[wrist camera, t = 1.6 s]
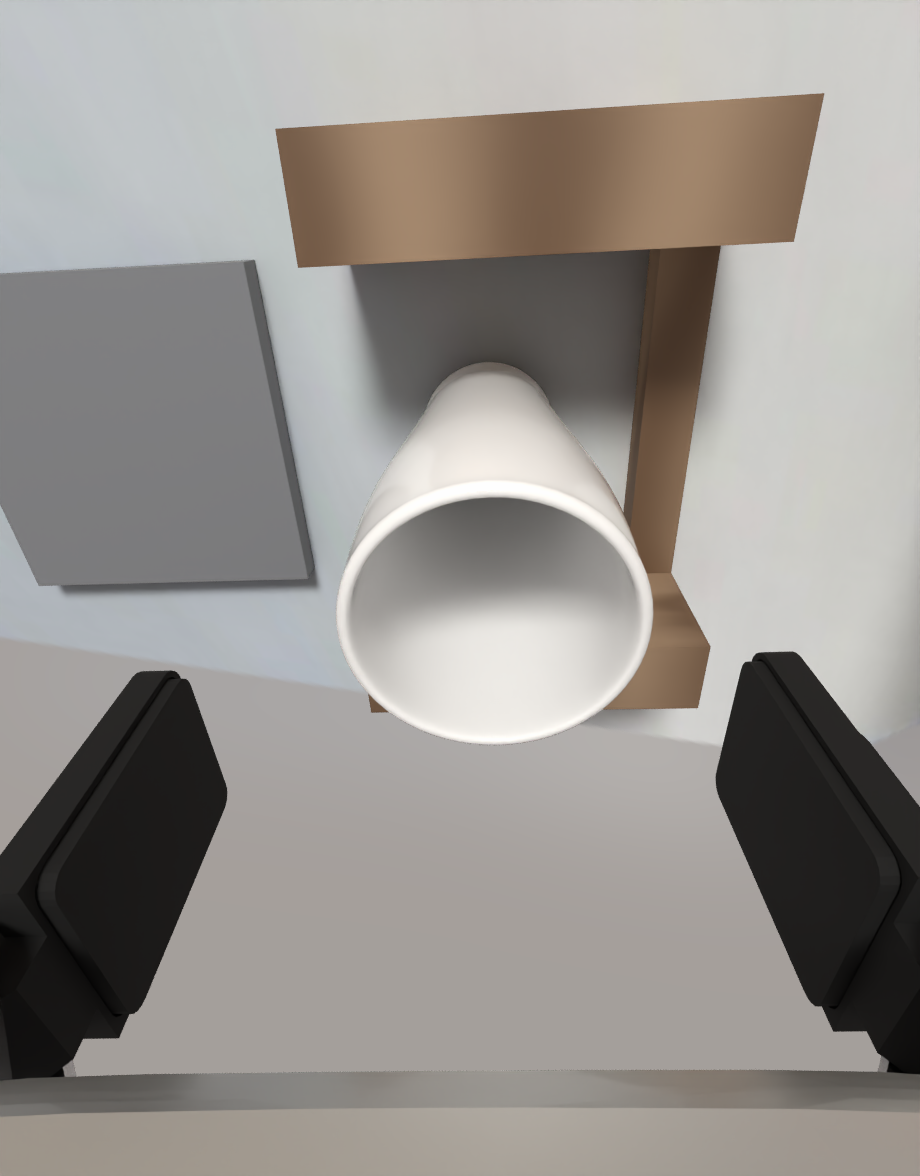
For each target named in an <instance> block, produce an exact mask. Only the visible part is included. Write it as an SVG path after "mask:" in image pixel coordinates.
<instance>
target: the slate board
mask: <svg viewBox="0 0 920 1176" xmlns="http://www.w3.org/2000/svg"><path fill="white" fill-rule="evenodd" d="M0 505H1V507H2V509H3V511H4V513H5V515H6V517H7V520H8V522H9V524H10V526H11V528H12V530H13V532H14V534H15V536H16V539H17V541H18V543H19V545H20V547H21V549H22V551H23V553H24V555H25V558H26V560H27V562H28V564H29V566H30V568H31V570H32V572H33V574H34V577H35V579H36V581H37V583H38V585H39V586H53V585H93V584H132V583H172V582H211V581H251V580H290V579H309V576H310V574H311V572H312V570H313V568H314V562H313V557H312V552H311V547H310V542H309V537H308V531H307V526H306V521H305V516H304V511H303V506H302V501H301V496H300V491H299V486H298V481H297V475H296V470H295V465H294V460H293V455H292V450H291V445H290V440H289V435H288V430H287V425H286V420H285V414H284V409H283V404H282V399H281V394H280V389H279V384H278V379H277V374H276V369H275V364H274V358H273V353H272V348H271V343H270V338H269V333H268V328H267V323H266V318H265V313H264V308H263V303H262V297H261V292H260V287H259V282H258V277H257V272H256V267H255V262H254V260H246V261H227V262H209V263H190V264H171V265H152V266H134V267H115V268H96V269H78V270H59V271H40V272H22V273H3V274H0Z"/></svg>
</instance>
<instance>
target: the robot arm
mask: <svg viewBox="0 0 920 1176" xmlns="http://www.w3.org/2000/svg"><path fill="white" fill-rule="evenodd" d="M716 788H717V792H718V795H719V798H720V800H721V803H722V805H723V807H724V809H725V812H726V814H727V816H728V818H729V821H730V823H731V825H732V828H733V830H734V832H735V834H736V837H737V839H738V841H739V844H740V846H741V848H742V850H743V853H744V855H745V857H746V860H747V862H748V864H749V866H750V869H751V871H752V873H753V875H754V878H755V880H756V882H757V885H758V887H759V889H760V892H761V894H762V896H763V898H764V901H765V903H766V905H767V908H768V910H769V912H770V914H771V916H772V919H773V921H774V923H775V926H776V928H777V930H778V933H779V935H780V937H781V939H782V941H783V944H784V946H785V948H786V951H787V953H788V955H789V958H790V960H791V962H792V964H793V966H794V969H795V971H796V974H797V976H798V978H799V980H800V983H801V985H802V987H803V990H804V991H805V993H806V995H807V997H808V999H809V1000H810V1002H811V1003H812V1004H813V1005H815V1006H822V1008H823V1010H824V1012H825V1014H826V1016H827V1019H828V1021H829V1023H830V1025H831V1027H832V1030H833V1031H835V1032H837V1031H867V1033H868V1035H869V1037H870V1039H871V1040H872V1043H873V1045H874V1047H875V1049H876V1051H877V1053H878V1054H880V1055H881V1060H880V1064H879V1068H878V1072H851V1071H849V1072H847V1071H846V1072H845V1071H790V1070H540V1071H538V1070H536V1071H535V1070H532V1071H531V1070H529V1071H395V1072H394V1071H393V1072H392V1071H391V1072H298V1073H297V1072H294V1073H293V1072H292V1073H214V1074H143V1075H112V1076H82V1077H76V1072H75V1068H74V1063H73V1059H74V1056H75V1054H76V1052H77V1050H78V1048H79V1046H80V1044H81V1042H82V1040H83V1039H91V1038H92V1039H95V1038H96V1039H98V1038H119V1037H120V1034H121V1032H122V1030H123V1027H124V1025H125V1022H126V1020H127V1018H128V1016H129V1014H134V1013H135V1012H137V1011H138V1010H139V1008H140V1007H141V1006H142V1004H143V1002H144V1000H145V998H146V995H147V993H148V991H149V988H150V986H151V983H152V981H153V979H154V976H155V974H156V971H157V969H158V967H159V964H160V962H161V960H162V957H163V955H164V952H165V950H166V947H167V945H168V943H169V940H170V938H171V936H172V933H173V931H174V928H175V926H176V924H177V921H178V919H179V916H180V914H181V912H182V909H183V907H184V904H185V902H186V900H187V897H188V895H189V892H190V890H191V888H192V885H193V883H194V880H195V878H196V876H197V873H198V871H199V869H200V866H201V864H202V861H203V859H204V857H205V854H206V852H207V849H208V847H209V845H210V842H211V840H212V837H213V835H214V833H215V830H216V828H217V825H218V823H219V821H220V818H221V816H222V813H223V811H224V808H225V805H226V801H227V787H226V783H225V780H224V778H223V775H222V772H221V769H220V766H219V764H218V761H217V758H216V755H215V752H214V749H213V747H212V744H211V741H210V738H209V736H208V733H207V730H206V727H205V724H204V721H203V719H202V716H201V713H200V710H199V707H198V704H197V702H196V699H195V696H194V693H193V690H192V688H191V685H190V683H189V681H188V680H186V679H181V678H180V676H179V674H178V673H177V672H175V671H143V672H139V673H136V674H135V675H134V676H133V677H132V679H131V680H130V681H129V683H128V684H127V685H126V687H125V688H124V689H123V691H122V692H121V694H120V695H119V696H118V697H117V699H116V700H115V702H114V703H113V704H112V706H111V707H110V708H109V710H108V711H107V712H106V714H105V715H104V716H103V718H102V719H101V721H100V722H99V723H98V724H97V726H96V727H95V728H94V730H93V731H92V732H91V734H90V735H89V737H88V738H87V739H86V741H85V742H84V743H83V745H82V746H81V747H80V749H79V750H78V751H77V753H76V754H75V755H74V757H73V758H72V759H71V761H70V762H69V764H68V765H67V766H66V768H65V769H64V770H63V772H62V773H61V774H60V776H59V777H58V778H57V780H56V781H55V782H54V784H53V785H52V786H51V788H50V789H49V790H48V792H47V793H46V794H45V796H44V797H43V799H42V800H41V802H40V803H39V804H38V805H37V807H36V808H35V809H34V811H33V812H32V814H31V815H30V816H29V818H28V819H27V820H26V822H25V823H24V824H23V826H22V827H21V828H20V829H19V831H18V832H17V834H16V835H15V836H14V838H13V839H12V840H11V842H10V843H9V844H8V846H7V847H6V849H5V850H4V851H3V852H2V854H1V855H0V1176H920V807H919V805H918V804H917V803H916V802H915V800H914V799H913V798H912V796H911V795H910V794H909V792H908V791H907V790H906V789H905V787H904V786H903V785H902V783H901V782H900V781H899V780H898V778H897V777H896V776H895V774H894V773H893V772H892V771H891V769H890V768H889V767H888V765H887V764H886V763H885V762H884V760H883V759H882V758H881V756H880V755H879V754H878V752H877V751H876V750H875V749H874V747H873V746H872V745H871V743H870V742H869V741H868V740H867V739H866V738H865V737H864V736H863V735H861V734H860V733H859V732H858V731H857V729H856V728H855V727H854V725H853V724H852V723H851V722H850V720H849V719H848V718H847V716H846V715H845V714H844V712H843V711H842V710H841V709H840V707H839V706H838V705H837V703H836V702H835V701H834V699H833V698H832V697H831V696H830V694H829V693H828V692H827V690H826V689H825V688H824V686H823V685H822V684H821V683H820V681H819V680H818V679H817V677H816V676H815V675H814V673H813V672H812V671H811V670H810V668H809V667H808V666H807V664H806V663H805V662H804V660H803V659H802V658H801V657H800V656H799V655H798V654H797V653H795V652H762V653H757V654H755V656H754V657H753V659H752V662H745V663H744V664H743V666H742V669H741V672H740V677H739V681H738V685H737V689H736V693H735V697H734V701H733V706H732V710H731V714H730V718H729V722H728V726H727V730H726V735H725V739H724V743H723V747H722V751H721V756H720V760H719V764H718V768H717V773H716Z"/></svg>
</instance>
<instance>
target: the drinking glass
mask: <svg viewBox="0 0 920 1176" xmlns="http://www.w3.org/2000/svg"><path fill="white" fill-rule="evenodd" d="M336 624H337V632H338V637H339V641H340V645H341V648H342V651H343V654H344V656H345V659H346V661H347V663H348V665H349V667H350V669H351V671H352V672H353V674H354V676H355V677H356V679H357V680H358V682H359V683H360V684H361V685H362V687H363V688H364V689H365V690H366V692H367V693H368V694H369V695H370V696H371V697H372V698H373V699H374V700H375V701H376V702H377V703H378V704H380V705H381V706H382V707H383V708H384V709H385V710H387V711H388V712H390V713H391V714H392V715H394V716H395V717H397V718H398V719H400V720H402V721H403V722H405V723H407V724H409V725H411V726H413V727H415V728H417V729H419V730H421V731H424V732H426V733H429V734H432V735H434V736H438V737H441V738H444V739H448V740H453V741H457V742H463V743H470V744H479V745H508V744H518V743H525V742H530V741H535V740H539V739H543V738H546V737H550V736H553V735H556V734H559V733H561V732H564V731H566V730H568V729H570V728H573V727H575V726H577V725H579V724H581V723H582V722H584V721H586V720H588V719H589V718H591V717H592V716H594V715H595V714H597V713H598V712H600V711H601V710H602V709H603V708H605V707H606V706H607V705H608V704H610V703H611V702H612V701H613V700H614V699H615V698H616V697H617V696H618V695H619V694H620V693H621V692H622V690H623V689H624V688H625V687H626V686H627V684H628V683H629V682H630V680H631V679H632V678H633V676H634V675H635V673H636V671H637V670H638V668H639V666H640V664H641V662H642V660H643V658H644V655H645V653H646V650H647V647H648V644H649V641H650V636H651V631H652V625H653V598H652V593H651V587H650V583H649V580H648V576H647V573H646V570H645V568H644V566H643V563H642V560H641V557H640V554H639V551H638V548H637V545H636V543H635V540H634V537H633V535H632V532H631V530H630V527H629V525H628V523H627V520H626V518H625V516H624V513H623V511H622V509H621V507H620V505H619V503H618V501H617V499H616V497H615V495H614V493H613V491H612V489H611V488H610V486H609V484H608V483H607V481H606V479H605V477H604V476H603V474H602V472H601V471H600V469H599V468H598V466H597V465H596V464H595V462H594V461H593V460H592V458H591V457H590V456H589V454H588V453H587V452H586V450H585V449H584V448H583V446H582V445H581V444H580V443H579V441H578V440H577V439H576V438H575V436H574V435H573V434H572V433H571V431H570V430H569V429H568V428H567V426H566V425H565V424H564V423H563V421H562V420H561V419H560V418H559V416H558V415H557V414H556V412H555V411H554V410H553V408H552V407H551V405H550V403H549V401H548V399H547V397H546V395H545V393H544V391H543V390H542V389H541V387H540V386H539V385H538V384H537V383H536V382H535V380H533V379H532V378H531V377H530V376H529V375H527V374H526V373H525V372H523V371H521V370H519V369H517V368H515V367H513V366H510V365H507V364H503V363H497V362H482V363H476V364H472V365H468V366H465V367H463V368H461V369H459V370H457V371H455V372H454V373H452V374H451V375H449V376H448V377H447V378H446V379H445V380H443V381H442V382H441V384H440V385H439V386H438V387H437V388H436V390H435V391H434V393H433V394H432V396H431V398H430V400H429V402H428V404H427V406H426V409H425V412H424V413H423V415H422V416H421V418H420V419H419V421H418V422H417V424H416V425H415V426H414V428H413V429H412V431H411V432H410V434H409V435H408V437H407V438H406V439H405V441H404V442H403V444H402V445H401V447H400V448H399V449H398V451H397V452H396V454H395V455H394V457H393V458H392V460H391V461H390V463H389V464H388V466H387V467H386V469H385V471H384V472H383V474H382V476H381V477H380V479H379V481H378V482H377V484H376V486H375V488H374V490H373V492H372V494H371V496H370V499H369V501H368V503H367V505H366V507H365V509H364V512H363V514H362V517H361V519H360V522H359V525H358V528H357V530H356V533H355V536H354V539H353V542H352V545H351V548H350V551H349V554H348V558H347V561H346V565H345V569H344V573H343V576H342V578H341V581H340V585H339V590H338V594H337V603H336Z"/></svg>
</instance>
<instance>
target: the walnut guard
mask: <svg viewBox="0 0 920 1176" xmlns="http://www.w3.org/2000/svg"><path fill="white" fill-rule="evenodd" d="M823 97H824V93H822V94H807V95H791V96H776V97H760V98H745V99H730V100H714V101H699V102H683V103H668V104H652V105H637V106H622V107H606V108H591V109H575V110H560V111H545V112H529V113H514V114H498V115H483V116H467V117H452V118H437V119H421V120H406V121H390V122H375V123H360V124H344V125H329V126H313V127H298V128H282V129H275V130H276V136H277V142H278V148H279V154H280V160H281V166H282V172H283V178H284V185H285V191H286V197H287V203H288V209H289V215H290V221H291V227H292V233H293V239H294V245H295V251H296V257H297V264H298V268H302V267H321V266H340V265H359V264H378V263H397V262H416V261H435V260H454V259H473V258H492V257H511V256H530V255H549V254H568V253H587V252H606V251H625V250H644V249H650V253H649V263H648V274H647V284H646V294H645V304H644V314H643V324H642V334H641V344H640V354H639V364H638V374H637V384H636V394H635V404H634V414H633V424H632V434H631V444H630V454H629V464H628V474H627V484H626V494H625V504H624V516H625V518H626V520H627V523H628V525H629V527H630V530H631V532H632V535H633V537H634V540H635V543H636V545H637V548H638V551H639V554H640V557H641V560H642V563H643V566H644V568H645V570H646V573H647V576H648V580H649V583H650V587H651V593H652V598H653V625H652V631H651V636H650V641H649V644H648V647H647V650H646V653H645V655H644V658H643V660H642V662H641V664H640V666H639V668H638V670H637V671H636V673H635V675H634V676H633V678H632V679H631V680H630V682H629V683H628V684H627V686H626V687H625V688H624V689H623V690H622V692H621V693H620V694H619V695H618V696H617V697H616V698H615V699H614V700H613V701H612V702H611V703H610V704H608V705H607V706H606V707H605V708H603V709H669V708H698V705H699V700H700V695H701V691H702V686H703V681H704V676H705V671H706V666H707V661H708V656H709V652H710V645H709V643H708V641H707V639H706V638H705V636H704V634H703V632H702V630H701V628H700V626H699V624H698V623H697V621H696V619H695V617H694V615H693V613H692V611H691V609H690V608H689V606H688V604H687V602H686V600H685V598H684V596H683V594H682V593H681V591H680V589H679V587H678V585H677V583H676V581H675V579H674V578H673V576H672V574H671V569H672V563H673V556H674V549H675V543H676V536H677V530H678V523H679V517H680V510H681V503H682V497H683V490H684V484H685V477H686V470H687V464H688V457H689V451H690V444H691V438H692V431H693V424H694V418H695V411H696V405H697V398H698V391H699V385H700V378H701V372H702V365H703V359H704V352H705V345H706V339H707V332H708V326H709V319H710V312H711V306H712V299H713V293H714V286H715V279H716V273H717V266H718V260H719V253H720V247H721V245H739V244H758V243H777V242H794V238H795V233H796V228H797V223H798V219H799V214H800V209H801V204H802V199H803V194H804V189H805V185H806V180H807V175H808V170H809V165H810V160H811V155H812V150H813V146H814V141H815V136H816V131H817V126H818V121H819V116H820V112H821V107H822V102H823ZM368 695H369V694H368ZM369 701H370V707H371V712H372V713H373V712H388V711H387V710H385V709H384V708H383V707H382V706H381V705H380V704H378V703H377V702H376V701H375V700H374V699H373V698H372V697H371V696H370V695H369Z"/></svg>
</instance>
